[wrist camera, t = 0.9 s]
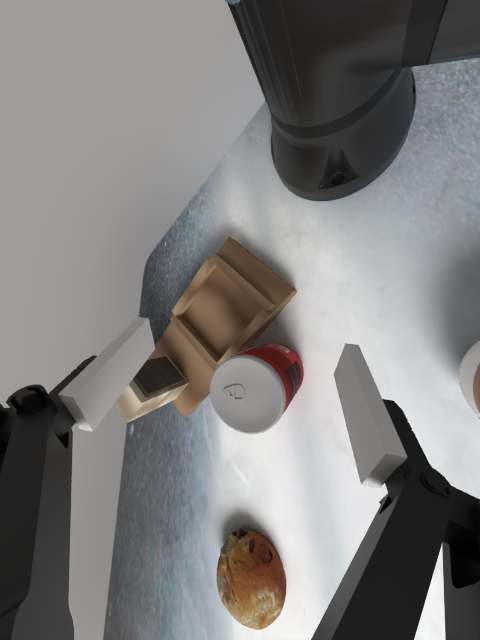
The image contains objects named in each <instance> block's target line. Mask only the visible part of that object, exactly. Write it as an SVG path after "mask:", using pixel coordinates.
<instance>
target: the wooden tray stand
mask: <svg viewBox="0 0 480 640" xmlns="http://www.w3.org/2000/svg"><path fill="white" fill-rule="evenodd" d="M296 293H297V291H295V290H294V289H293V288H292V287H291V286H289V285H288V284H287V283H286V282H285V281H283V280H282V279H281V278H280V277H279V276H277V275H276V274H275V273H274V272H273V271H272V270H270V269H269V268H268V267H267V266H266V265H264V264H263V263H262V262H261V261H260V260H258V259H257V258H256V257H255V256H254V255H252V254H251V253H250V252H249V251H248V250H246V249H245V248H244V247H243V246H242V245H240V244H239V243H238V242H237V241H235V240H234V239H232V238H231V237H228V239H227V240H226V242H225V243H224V245H223V246H222V248H221V249H220V251H219V252H218V254H217V253H215V252H214V254H213V255H212V257H211V258H208V257H207V259H206V260H205V262H204V263H203V265H202V266H201V268H200V269H199V271H198V272H197V274H196V275H195V277H194V278H193V280H192V281H191V283H190V284H189V286H188V287H187V289H186V290H185V292H184V293H183V295H182V296H181V298H180V299H179V301H178V302H177V304H176V305H175V307H174V308H173V310H172V312H173V315H172V316H171V318H170V320H171V323H170V324H169V326H168V327H167V328H166V330H165V331H164V333H163V334H162V336H161V337H160V339H159V340H158V342H157V343H156V345H155V350H154V351H153V352H152V354H151V355H150V356H149V358H148V359H147V360H146V362H145V363H144V365H143V366H142V367H141V369H140V370H139V371H138V373H137V374H136V375H135V377H134V378H133V379H132V381H131V382H130V383H129V385H128V386H127V387H126V389H125V390H124V391H123V393H122V394H121V395H120V397H119V398H118V399H117V401H116V402H115V403H114V404H115V406H116V407H117V409H118V411H119V412H120V414H121V415H122V417H123V418H124V420H125V422H126V423H128V422H130V421H132V420H134V419H136V418H138V417H140V416H142V415H144V414H146V413H148V412H150V411H152V410H154V409H157V408H159V407H161V406H163V405H165V404H167V403H169V402H171V401H172V402H173V404H174V405H175V406H176V408H177V409H178V410H179V412H180V413H181V414H182V416H183V417H185V416H187V415H189V414H190V413H192V412H193V411H194V410H195V409H196V408H197V407H198V406H199V405H200V403H201V402H202V401H203V400H204V399H205V398H206V396H207V395H208V394H209V393H210V381H211V378H212V375H213V373H214V371H215V369H216V368H217V367H218V366H219V365H220V364H221V363H222V362H224V361H225V360H226V359H228V358H230V357H233V356H235V355H237V354H240V353H243V352H245V351H246V350H247V349H248V348H249V347H250V346H251V345H252V343H253V342H254V341H255V340H256V339H257V338H258V336H259V335H260V334H261V333H262V332H263V331H264V330H265V328H266V327H267V326H268V325H269V324H270V323H271V321H272V320H273V319H274V318H275V317H276V316H277V315H278V313H279V312H280V311H281V310H282V309H283V308H284V306H285V305H286V304H287V303H288V302H289V301H290V300H291V298H292V297H293V296H294V295H295V294H296Z"/></svg>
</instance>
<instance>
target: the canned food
mask: <svg viewBox="0 0 480 640" xmlns="http://www.w3.org/2000/svg"><path fill="white" fill-rule="evenodd" d="M303 376H304V372H303V366H302V363H301V361H300V359H299V357H298V356H297V355H296V354H295V353H294V352H293V351H292V350H291V349H289V348H288V347H286V346H283V345H280V344H266V345H263V346H260V347H257V348H254V349H251V350H248V351H246V352H243V353H240V354H237V355H235V356H233V357H230V358H228V359H226V360H225V361H224V362H222V363H221V364H220V365H219V366H218V367H217V368H216V369H215V371H214V373H213V375H212V378H211V381H210V398H211V402H212V405H213V407H214V409H215V411H216V413H217V414H218V416H219V417H220V418H221V419H222V421H223V422H225V423H226V424H227V425H228V426H229V427H231V428H233V429H234V430H236V431H239V432H242V433H247V434H258V433H261V432H265V431H266V430H268V429H270V428H271V427H272V426H273V425H275V424H276V423H277V422H278V421H279V419H280V418H281V416H282V415H283V413H284V412H285V410H286V409H287V407H288V405H289V404H290V402H291V401H292V399H293V397H294V396H295V394H296V393H297V391H298V389H299V388H300V386H301V384H302V381H303Z"/></svg>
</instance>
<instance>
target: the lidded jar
mask: <svg viewBox="0 0 480 640" xmlns="http://www.w3.org/2000/svg"><path fill="white" fill-rule="evenodd" d="M459 384H460V387H461V391H462V393H463V395H464V397H465V399H466V401H467V403H468V405H469V406H470V408H471V409H472V410H473V412H474V413H475V414H476V415H477V417H478V418H479V419H480V340H479V341H477V342H476V343H475V344H474V345H473V346H472V347H471V348H470V349H469V350H468V351H467V352H466V354H465V356H464V358H463V359H462V362H461V365H460V368H459Z"/></svg>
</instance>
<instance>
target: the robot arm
mask: <svg viewBox="0 0 480 640" xmlns="http://www.w3.org/2000/svg"><path fill="white" fill-rule="evenodd" d="M225 1H227V3H228V5H229V7H230V10H231V13H232V15H233V18H234V20H235V23H236V26H237V28H238V31H239V33H240V36H241V38H242V41H243V43H244V46H245V49H246V51H247V54H248V56H249V59H250V61H251V64H252V66H253V69H254V71H255V74H256V76H257V79H258V82H259V84H260V87H261V89H262V92H263V94H264V97H265V100H266V102H267V105H268V107H269V110H270V113H271V121H272V135H271V153H272V158H273V162H274V166H275V168H276V170H277V172H278V175H279V177H280V179H281V180H282V182H283V184H284V185H285V186H286V187H287V188H288V189H289V190H290V191H291V192H292V193H294V194H295V195H297V196H299V197H302V198H304V199H308V200H313V201H329V200H335V199H339V198H342V197H345V196H348V195H351V194H353V193H355V192H357V191H359V190H361V189H362V188H364V187H366V186H367V185H368V184H370V183H371V182H373V181H374V180H375V179H376V178H377V177H379V176H380V175H381V174H382V173H383V172H384V171H385V170H386V169H387V168H388V166H389V165H390V164H391V163H392V162H393V160H394V159H395V157H396V156H397V155H398V153H399V151H400V150H401V148H402V146H403V144H404V142H405V139H406V137H407V134H408V131H409V128H410V125H411V122H412V119H413V115H414V111H415V105H416V85H415V79H414V75H413V72H412V70H411V67H414V66H421V65H430V64H437V63H444V62H451V61H459V60H466V59H473V58H480V0H225ZM154 350H155V345H154V341H153V336H152V332H151V328H150V323H149V319H148V318H142V317H138V318H137V319H136V320H135V321H134V322H132V323H131V324H130V325H129V326H128V327H127V328H126V329H125V330H124V331H123V332H122V333H121V334H120V335H119V336H118V337H117V338H116V339H115V340H114V341H113V342H112V343H111V344H110V345H109V346H108V347H107V348H106V349H104V350H103V351H102V352H101V353H100V354H99V355H98V356H92V357H90V358H88V359H86V360H85V361H83V362H82V363H81V364H80V365H79V366H78V367H77V369H75V370H74V371H73V372H71V374H70V375H68V376H67V377H66V378H65V379H64V380H63V381H62V382H61V383H59V384H58V385H57V386H56V387H55V388H54V389H53V390H52V391H51V392H50V393H49V394H48V393H47V392H46V390H45V389H44V387H43V386H41V385H30V386H26V387H24V388H22V389H20V390H18V391H16V392H15V393H14V394H12V395H11V396H10V397H9V398H8V400H7V401H6V403H7V404H8V405H9V406H10V408H4V407H3V406H2V405H1V404H0V640H74V626H73V620H72V616H71V614H70V611H69V605H68V592H69V588H68V587H69V553H70V551H69V550H70V515H71V513H70V512H71V477H72V438H73V432H72V429H71V427H72V426H73V425H74V424H75V423H76V424H77V425H78V427H79V428H80V429H83V430H88V431H92V432H93V431H94V430H95V429H96V427H97V426H98V425H99V423H100V422H101V421H102V419H103V418H104V417H105V415H106V414H107V413H108V411H109V410H110V409H111V407H112V406H113V405H114V403H115V402H116V401H117V399H118V398H119V397H120V395H121V394H122V393H123V391H124V390H125V389H126V387H127V386H128V385H129V383H130V382H131V381H132V379H133V378H134V377H135V375H136V374H137V373H138V371H139V370H140V369H141V367H142V366H143V365H144V363H145V362H146V360H147V359H148V358H149V356H150V355H151V354H152V352H153V351H154ZM334 377H335V381H336V385H337V389H338V393H339V397H340V401H341V405H342V410H343V414H344V418H345V422H346V426H347V430H348V434H349V438H350V442H351V446H352V450H353V454H354V458H355V462H356V466H357V470H358V474H359V478H360V482H361V485H365V486H370V487H375V488H380V487H381V486H382V485H383V484H384V483H385V484H386V487H387V490H388V494H387V495H386V496H385V497H384V498H383V499H382V500H381V501H380V502H379V503H380V504H381V506H380V508H379V510H378V512H377V513H376V515H375V517H374V519H373V521H372V523H371V525H370V527H369V529H368V531H367V533H366V535H365V537H364V539H363V541H362V542H361V544H360V546H359V548H358V550H357V552H356V554H355V556H354V558H353V560H352V562H351V564H350V566H349V568H348V569H347V571H346V573H345V575H344V577H343V579H342V581H341V583H340V585H339V587H338V589H337V591H336V593H335V595H334V596H333V598H332V600H331V602H330V604H329V606H328V608H327V610H326V612H325V614H324V616H323V618H322V620H321V622H320V624H319V625H318V627H317V629H316V631H315V633H314V635H313V637H312V639H311V640H414V638H415V634H416V631H417V627H418V624H419V620H420V617H421V614H422V610H423V607H424V603H425V600H426V596H427V593H428V589H429V586H430V583H431V579H432V576H433V572H434V569H435V565H436V562H437V559H438V555H439V552H440V548H441V545H442V546H443V575H444V604H445V633H446V640H480V499H478V498H475V497H473V496H471V495H469V494H467V493H465V492H463V491H461V490H459V489H456V488H455V487H453V486H451V485H450V484H449V482H448V481H447V480H446V478H445V477H444V476H443V475H441V474H440V473H439V472H438V471H437V470H435V469H433V468H432V467H431V465H430V464H429V462H428V460H427V458H426V456H425V454H424V452H423V450H422V448H421V446H420V444H419V442H418V440H417V438H416V436H415V434H414V432H413V431H412V428H411V426H410V424H409V423H408V422H407V421H408V420H407V418H406V416H405V414H404V412H403V410H402V409H401V408H400V407H399V406H398V405H397V404H396V403H395V402H394V401H392V400H385V399H382V398H381V395H380V393H379V391H378V389H377V386H376V384H375V382H374V379H373V377H372V375H371V373H370V370H369V368H368V366H367V363H366V361H365V359H364V357H363V354H362V352H361V350H360V347H359V345H354V344H345V346H344V349H343V351H342V354H341V357H340V359H339V362H338V365H337V367H336V370H335V372H334Z"/></svg>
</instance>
